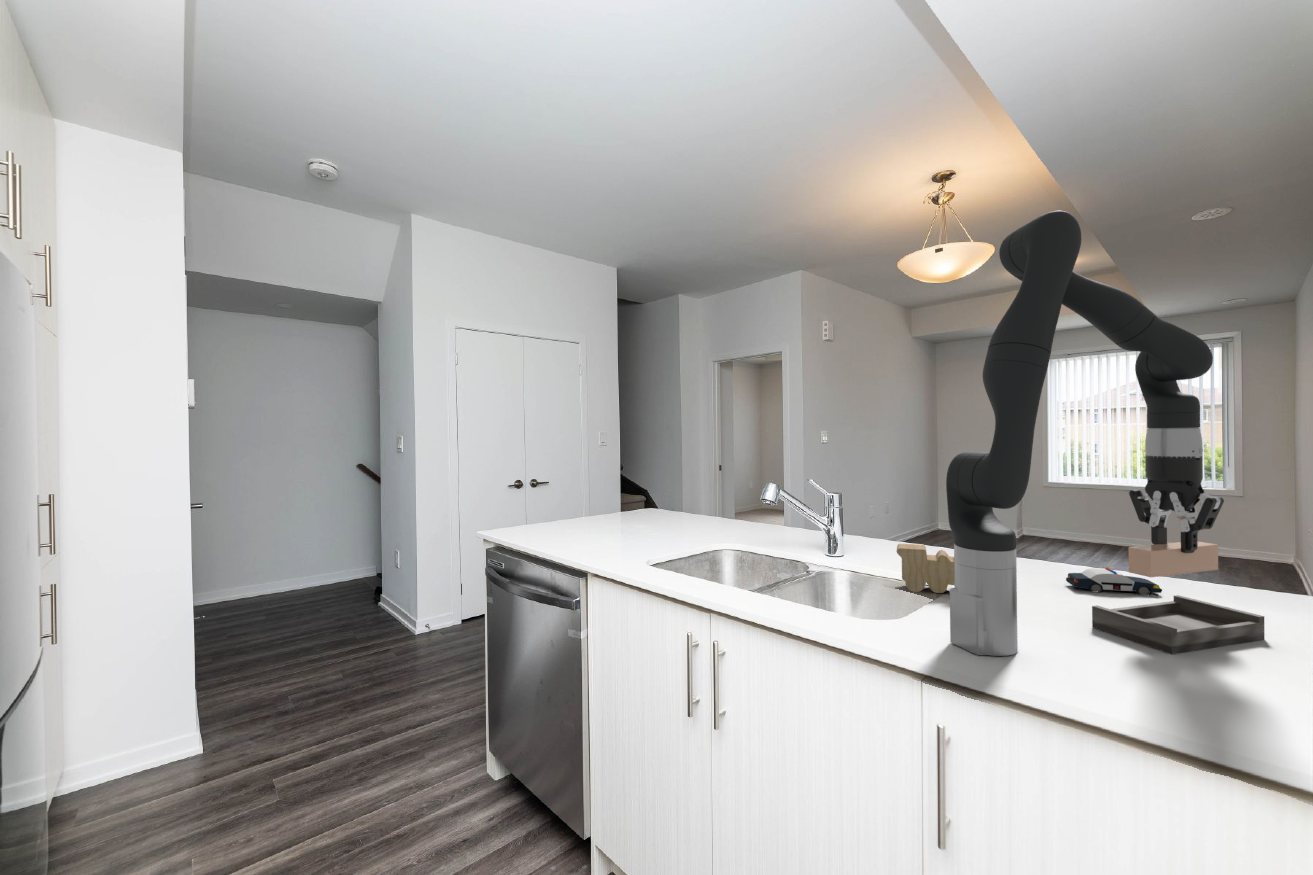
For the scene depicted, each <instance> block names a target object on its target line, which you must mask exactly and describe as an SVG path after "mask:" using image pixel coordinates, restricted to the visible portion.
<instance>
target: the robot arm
mask: <svg viewBox="0 0 1313 875" xmlns="http://www.w3.org/2000/svg"><path fill="white" fill-rule="evenodd" d="M1081 245H1082V230H1081V226H1080V224H1079V221H1078V220H1077V219H1076V218H1075V216H1074V215H1073V214H1071V213H1069V212H1068V211H1064V210H1054V211H1049V212H1047V213H1043V214H1042V215H1040V216H1037V217H1035V218H1033V219H1032V220H1030V221H1029V222H1027V223H1026V224H1024V225H1022V226H1021V227H1018V228H1017V229H1016V230H1014V231H1012V232H1011V233H1010V234H1008V235H1007V236H1006V237H1005V238H1004V239H1003V240H1002V242H1001V244H1000V248H999V252H998V253H999V255H998V256H999V259H1000V263H1001V265H1002V266H1003V268H1004V269H1005V270H1006V271H1007V272H1008V273H1009V274H1010V275H1012V276H1013V277H1014V278H1015V279H1018V280H1019V281H1020V282H1021V284H1020V287H1019V289H1018V291H1017V293H1016V295H1015V298H1014V299H1013V300H1012V302H1011V304H1010V306H1009V307H1008V309H1007V310H1006V312H1005V313H1004V314H1003V316H1002V318H1001V320H1000V321H999V323H998V324H997V327H996V328H995V330H994V332H993V333H992V336H991V338H990V340H989V344H988V345H987V351H986V356H985V359H984V364H983V369H982V383H983V385H984V389H985V393H986V396H987V397H988V401H989V403H990V405H991V408H992V411H993V413H994V414H993V415H994V421H995V422H994V424H995V425H994V432H993V438H992V443H991V447H990V450H989V452H988V451H964V452H961V453H959V454H957V455H955V456H954V457H953V459H952V460H951V461H950V463H949V465H948V468H947V472H946V480H945V481H946V482H945V485H946V487H945V488H946V503H947V514H948V515H947V516H948V523H949V528H950V530H951V533H952V536H953V543H954V544H953V551H954V552H953V557H954V579H955V586H954V587H952V588H950V589H949V625H950V626H949V628H950V629H949V630H950V632H949V633H950V634H949V635H950V636H949V637H950V643H951V644H954V645H955V646H958V647H959V648H962V649H964V650H965V651H968V652H970V653H973V655H977V656H991V657H992V656H993V657H994V656H997V657H1006V656H1008V657H1009V656H1012V655H1015V654H1016V653H1018V651H1019V650H1018V648H1019V646H1018V645H1019V642H1018V591H1017V589H1018V586H1017V585H1018V583H1017V580H1018V579H1017V578H1018V577H1017V570H1018V569H1017V535H1016V533H1015V531H1014V530H1013V529H1012V528H1010V527H1009V526H1007V525H1005V524H1004V523H1003V522H1001V520H1000V519H998V517H997V516H996V515H995V512H994V510H993V509H1000V510H1009V509H1012V508H1014V507H1016V506H1017V505H1018V504H1020V502H1021V501H1022V499H1023V498H1024V496H1025V493H1026V491H1027V489H1028V485H1029V481H1030V480H1029V479H1030V474H1031V466H1032V455H1033V445H1034V437H1035V436H1034V434H1035V427H1036V423H1037V422H1036V421H1037V418H1038V411H1039V406H1040V401H1041V400H1040V399H1041V396H1042V391H1043V387H1044V383H1045V380H1046V376H1047V372H1048V367H1049V362H1050V358H1051V354H1052V350H1053V349H1052V348H1053V343H1054V337H1055V334H1056V329H1057V326H1058V322H1059V316H1060V313H1061V309H1062V305H1063V306H1064V307H1066V308H1068V309H1069V310H1070V311H1072V312H1074V313H1075V314H1077V315H1078V316H1080V317H1081V318H1083V319H1084V320H1086V321H1087V322H1088V323H1090V324H1091V325H1092V326H1094V327H1095V328H1096V329H1097V330H1098V331H1099V332H1101V334H1103V335H1104V336H1105V337H1106V338H1108V339H1109V340H1110V341H1111V342H1112V343H1114V344H1115V345H1116V346H1118V348H1121V349H1122V350H1124V351H1128V352H1139V353H1138V355H1137V358H1136V360H1135V365H1134V371H1135V376H1136V379H1137V382H1138V385H1139V388H1140V391H1141V395H1142V396H1143V400H1144V401H1145V404H1146V434H1145V435H1146V436H1145V440H1144V441H1145V442H1144V446H1145V447H1144V448H1145V449H1144V452H1145V455H1144V456H1145V457H1144V458H1145V460H1144V461H1145V462H1144V463H1145V468H1144V469H1145V478H1146V479H1147V483H1146V485H1145V486H1144V488H1141V489H1135V490H1133V489H1132V490H1129V492H1128V495H1129V497H1130V500H1131V503H1132V505H1133V508H1134V511H1135V512H1136V515H1137V518H1138V521H1139V522H1141V523H1145V524H1148V525H1149V526H1150V529H1151V530H1150V535H1151V536H1150V537H1151V538H1150V539H1151V540H1150V541H1151V543H1152V544H1151V545H1156V544H1167V543H1168V528H1167V526H1166V525H1167V522H1168V519H1169V516H1170V515H1171V514H1172V511H1173V512H1174V513H1175V517H1176V518H1177V519H1178V520H1179V523H1180V524H1179V525H1180V527H1181V531H1180V542H1181V552H1182V553H1193V552H1194V551H1195V550H1197V548H1198V542H1197V541H1198V538H1199V537H1198V534H1199V532H1200V531H1203V530H1211V529H1212V528H1213V526H1214V525H1215V521H1216V520H1217V518H1218V515H1219V512H1220V511H1221V509H1222V507H1223V505H1224V503H1225V499H1223V497H1221V496H1213V495H1211V494H1207V493H1205V490H1204V488H1203V487H1202V481H1203V478H1204V472H1203V471H1204V470H1203V466H1204V465H1203V464H1204V462H1203V460H1204V458H1203V457H1204V456H1203V453H1204V449H1203V437H1202V433H1201V432H1202V430H1201V404H1200V400H1199V398H1198V397H1197V396H1195V395H1193V394H1188V393H1183V392H1182V390H1180V387H1179V384H1178V381H1187V380H1193V379H1196V378H1199V377H1200V378H1201V376H1204V375H1205V374H1206V373H1208V372H1209V371H1210V369H1211V367H1212V365H1213V361H1214V357H1213V352H1212V349H1211V348H1210V347H1209V345H1208V344H1207V343H1206V342H1205V341H1204V340H1203V339H1201V338H1200V337H1199V336H1197V335H1195V334H1194V333H1192V332H1190V331H1188V330H1186V329H1184V328H1181V327H1179V326H1177V325H1176V324H1174V323H1172V322H1168V321H1166V320H1164V319H1162V318H1160V317H1158V316H1157V315H1156V314H1155V313H1154V312H1153V311H1152V310H1150V309H1149V308H1148V307H1147V306H1146V305H1144V304H1143V303H1142V302H1141V301H1140V300H1139V299H1137V298H1136V297H1134V296H1133V295H1131V294H1130V293H1128V292H1126V291H1125V290H1122V289H1120V288H1118V287H1114V286H1112V285H1109V284H1106V283H1102V282H1100V281H1097V280H1093V279H1090V278H1088V277H1085V276H1083V275H1081V274H1080V273H1078V272H1075V271H1074V268H1075V265H1076V263H1077V260H1078V256H1079V253H1080V250H1081ZM1149 499H1150V500H1151V501H1152V502H1151V503H1150V501H1149ZM1199 502H1200V503H1199ZM1198 503H1199V506H1201V508H1200V510H1199V512H1198V509H1197V504H1198Z"/></svg>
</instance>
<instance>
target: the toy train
mask: <svg viewBox="0 0 1313 875" xmlns="http://www.w3.org/2000/svg"><path fill="white" fill-rule="evenodd" d="M896 553H897V555H898V556H899V557H900V558H901V579H902V581H904V582H905V586H906V588H907V590H909V591H911V592H912V593H919V592H922V591H923V590H924V589H925V588H926V585H927V586H928V587H929V589H930V590H931V591H932V592H934V593H936V594H942V593H945V592H946V590H948V587H949V586H953V587H955V579H954V556H951V555H949V554H948V553H947V552H946V551H945V550H943V549H939V550H938V551H937V553H936V554H935V555H934V554H928V553H927V547H926V545H925V544H916V543H915V544H913V543H898V544H897V546H896Z"/></svg>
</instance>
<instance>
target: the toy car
mask: <svg viewBox="0 0 1313 875" xmlns="http://www.w3.org/2000/svg"><path fill="white" fill-rule="evenodd" d="M1065 581H1066V582H1067V583H1068V584H1069V585H1071V586H1072V587H1074V588H1079V589H1084V590H1085V589H1086V590H1089V591H1090V592H1091V591H1098V592H1097V593H1101V592H1102V591H1103V590H1104V591H1123V592H1125V591H1126V592H1135V593H1136V594H1138V595H1139V594H1141V595H1142V596H1149V595H1150V594H1151V593H1153V594H1161V593H1162V592H1163V589H1162V588H1161V587H1160V585H1159V584H1157V583H1155V582H1153V581H1151V580H1149V579H1146V578H1143V577H1138V576H1130V575H1129V576H1128V575H1124V574H1122V573H1119V572H1118V571H1116V570H1114V569H1112V568H1109V567H1105V568H1103V567H1102V568H1098V567H1097V568H1091V567H1090V568H1087V569H1085V570H1083V571H1082V572H1069V573H1068V574H1067V577H1065Z"/></svg>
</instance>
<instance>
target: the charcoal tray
mask: <svg viewBox="0 0 1313 875" xmlns="http://www.w3.org/2000/svg"><path fill="white" fill-rule="evenodd" d="M1091 611H1092V612H1091V615H1092V618H1091V619H1092V620H1091V621H1092V622H1091V624H1092V626H1091V628H1092V627H1093V629H1096V630H1098V629H1099V630H1098V631H1101V632H1103V633H1107V634H1110V635H1113V636H1116V637H1118V638H1123V639H1125V640H1128V641H1131V642H1134V643H1137V644H1140V645H1143V646H1147V647H1148V648H1151V649H1154V650H1155V649H1156V650H1158V651H1160V650H1162V651H1161V652H1163V651H1164V653H1166V654H1169V653H1170V655H1176V654H1175V653H1177V654H1182V653H1188V652H1194V651H1193V650H1195V651H1200V650H1206V649H1212V648H1220V647H1225V646H1233V645H1239V644H1245V643H1251V642H1257V641H1264V640H1265V616H1264V615H1260V614H1257V613H1252V612H1248V611H1244V610H1240V609H1236V608H1233V607H1232V608H1231V607H1227V606H1225V605H1219V604H1216V603H1211V602H1207V601H1202V600H1199V599H1195V598H1191V597H1187V596H1182V595H1178V594H1177V595H1173V600H1171V601H1164V602H1163V601H1161V602H1156V603H1155V602H1154V603H1147V604H1141V605H1140V604H1139V605H1132V606H1124V607H1118V608H1117V607H1115V608H1108V607H1104V606H1101V605H1092V606H1091Z"/></svg>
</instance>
